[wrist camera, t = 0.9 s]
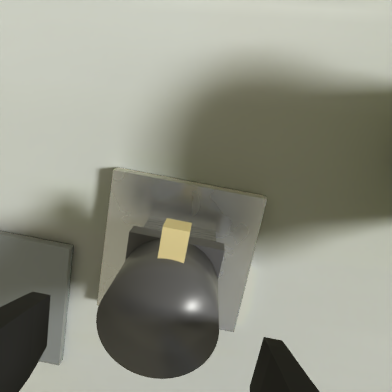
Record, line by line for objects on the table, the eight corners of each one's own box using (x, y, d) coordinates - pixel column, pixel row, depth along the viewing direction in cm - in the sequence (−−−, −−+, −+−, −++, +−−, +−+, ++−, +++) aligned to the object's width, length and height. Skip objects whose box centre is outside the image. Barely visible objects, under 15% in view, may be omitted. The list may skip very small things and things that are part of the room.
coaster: (62, 359, 20) (58, 365, 20) (-60, 334, 20) (-66, 340, 20) (73, 245, 18) (69, 248, 18) (-62, 218, 18) (-70, 221, 18)
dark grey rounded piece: (208, 323, 15) (206, 388, 12) (120, 306, 15) (90, 365, 12) (232, 217, 14) (238, 252, 10) (135, 198, 14) (107, 226, 10)
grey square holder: (233, 323, 19) (236, 361, 16) (101, 297, 19) (81, 330, 16) (264, 195, 17) (275, 212, 14) (117, 167, 17) (97, 177, 14)
